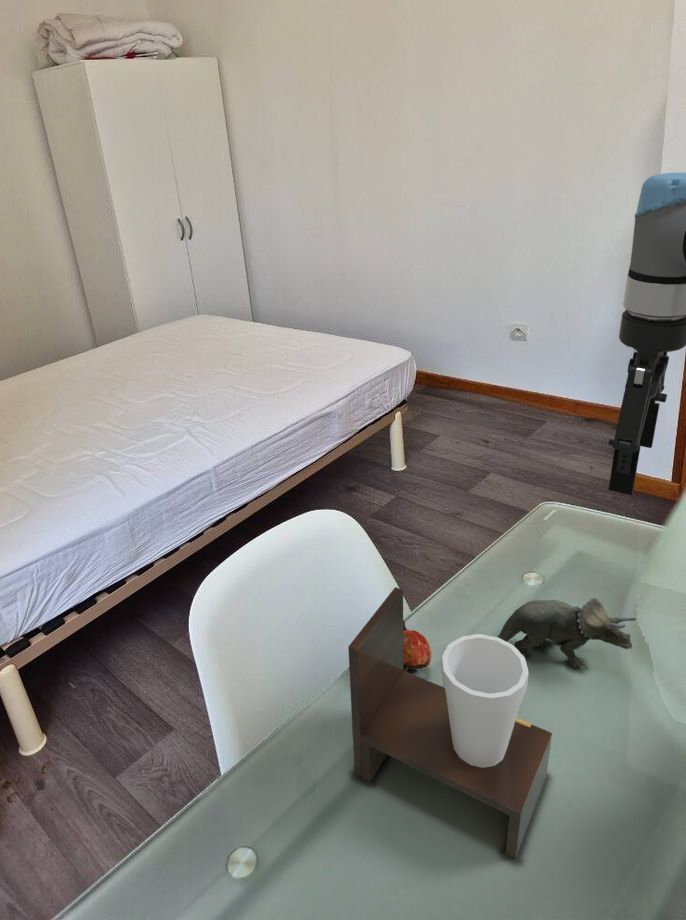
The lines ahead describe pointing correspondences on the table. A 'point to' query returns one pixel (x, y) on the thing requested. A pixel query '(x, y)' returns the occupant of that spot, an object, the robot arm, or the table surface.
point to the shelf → (433, 727)
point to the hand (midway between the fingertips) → (631, 467)
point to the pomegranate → (415, 650)
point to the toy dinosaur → (564, 626)
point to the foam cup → (483, 695)
